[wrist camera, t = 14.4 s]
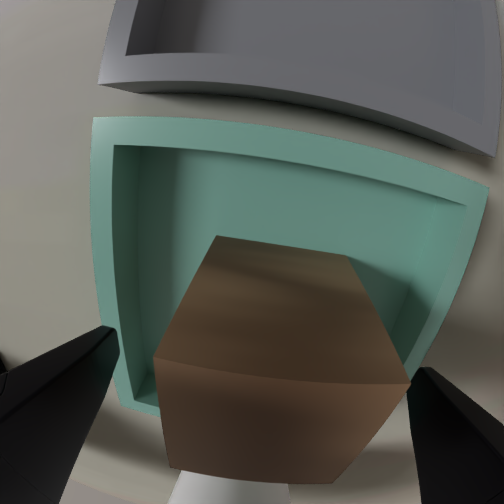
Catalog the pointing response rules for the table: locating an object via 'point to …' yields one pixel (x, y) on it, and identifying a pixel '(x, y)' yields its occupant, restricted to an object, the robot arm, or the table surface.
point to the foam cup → (226, 491)
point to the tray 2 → (266, 224)
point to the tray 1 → (323, 59)
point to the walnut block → (274, 366)
